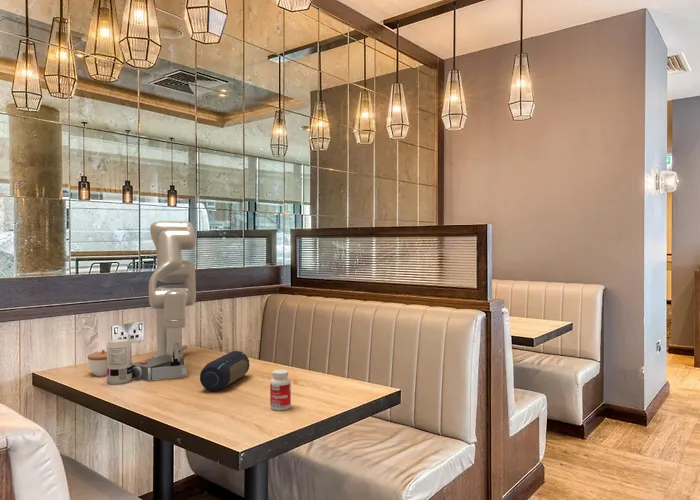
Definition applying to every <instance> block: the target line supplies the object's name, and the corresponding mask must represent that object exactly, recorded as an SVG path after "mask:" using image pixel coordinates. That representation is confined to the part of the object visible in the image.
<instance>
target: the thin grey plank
mask: <svg viewBox="0 0 700 500" xmlns="http://www.w3.org/2000/svg"><path fill="white" fill-rule="evenodd" d="M187 375H188V374H187V364H184V365H179V366H169V367H159V368H152V380H151V381H156V380H167V379H175V378H185V377H187Z"/></svg>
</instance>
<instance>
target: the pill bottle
mask: <svg viewBox="0 0 700 500" xmlns="http://www.w3.org/2000/svg"><path fill="white" fill-rule="evenodd" d="M271 374H272V375H271V376H272V378H271V379H270V382H269V383H270V385H269V387H270V388H269V392H270V395H269V397H270V398H269V399H270V400H269V401H270V402H269V403H270V405H269V406H270V407H269V408H270V409H271V410H273V411H286V410H289V409H290V408H291V406H292V405H291V402H292V401H291V399H292V395H291V392H292V391H291V390H292V388H291V387H292V386H291V385H292V384H291V379H290V378H289V371H288V370H287V369H276V370H273V371H272V373H271Z"/></svg>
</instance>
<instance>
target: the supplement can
mask: <svg viewBox="0 0 700 500" xmlns="http://www.w3.org/2000/svg"><path fill="white" fill-rule="evenodd" d="M132 349H133V348H132V343H131V341H130V339H129V338H117V339H116V338H115V339H111V340H108V342H107V344H106V351H107V376H106V382H107V383H108V384H110V385H122V384H128V383H129V382H131V381H132V363H133V361H132V359H133V357H132V356H133V355H132V354H133V353H132V351H133V350H132Z"/></svg>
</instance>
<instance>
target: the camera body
mask: <svg viewBox="0 0 700 500" xmlns="http://www.w3.org/2000/svg"><path fill="white" fill-rule="evenodd" d="M179 361H180V365H185V357H184V356H183V357H179ZM171 362H172V361H171V356H169V355H163V356H159V357H155V358H153V357H151V358H148V359H145V360H141V361H137V362H132V379H133V380H138V381H139V380H140V381H146V382H151V381H153V380H152V368H159V367H169V366H171ZM132 379H131V380H132Z"/></svg>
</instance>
